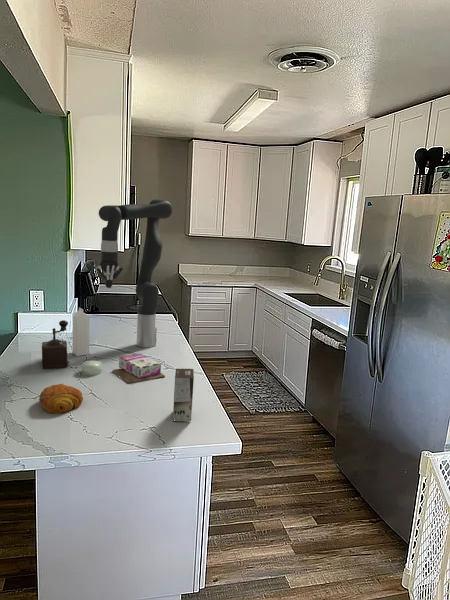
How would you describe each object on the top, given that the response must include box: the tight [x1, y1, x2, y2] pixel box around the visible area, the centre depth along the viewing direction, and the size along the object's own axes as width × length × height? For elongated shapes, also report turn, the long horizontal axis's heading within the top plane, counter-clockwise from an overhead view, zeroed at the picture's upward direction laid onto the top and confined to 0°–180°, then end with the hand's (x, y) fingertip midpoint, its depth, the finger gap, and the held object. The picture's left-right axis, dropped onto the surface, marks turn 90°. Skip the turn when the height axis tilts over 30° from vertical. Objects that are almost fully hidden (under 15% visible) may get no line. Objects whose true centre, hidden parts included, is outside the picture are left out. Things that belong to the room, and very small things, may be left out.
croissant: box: [38, 383, 84, 414], centre depth 158 cm, size 14×16×8 cm
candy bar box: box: [118, 352, 162, 378], centre depth 195 cm, size 11×5×16 cm
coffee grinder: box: [41, 320, 69, 370], centre depth 198 cm, size 16×11×18 cm
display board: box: [112, 368, 166, 385], centre depth 193 cm, size 17×16×1 cm
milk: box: [72, 307, 90, 357], centre depth 212 cm, size 6×6×22 cm
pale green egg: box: [81, 360, 102, 377], centre depth 191 cm, size 8×8×4 cm
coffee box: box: [172, 368, 195, 422], centre depth 155 cm, size 9×6×16 cm
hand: (108, 287), depth 207 cm, fingers closed
